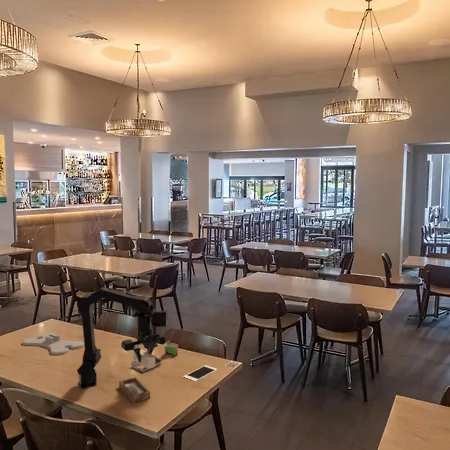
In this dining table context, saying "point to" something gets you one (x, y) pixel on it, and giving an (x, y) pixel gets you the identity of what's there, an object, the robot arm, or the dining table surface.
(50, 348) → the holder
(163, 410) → the dining table surface
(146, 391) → the cradle
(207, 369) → the cell phone
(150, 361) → the white rectangular block
